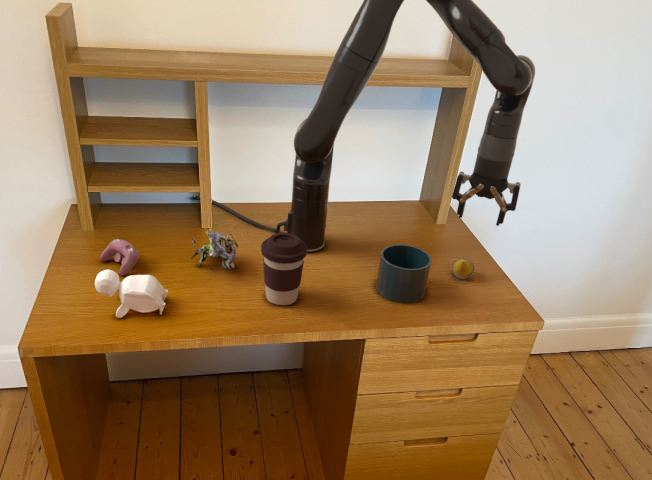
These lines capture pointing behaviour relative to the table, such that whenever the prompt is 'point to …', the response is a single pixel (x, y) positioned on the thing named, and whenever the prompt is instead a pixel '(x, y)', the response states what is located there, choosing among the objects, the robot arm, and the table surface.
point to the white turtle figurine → (132, 291)
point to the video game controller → (121, 255)
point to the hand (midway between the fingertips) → (478, 220)
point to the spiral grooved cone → (463, 268)
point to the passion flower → (218, 249)
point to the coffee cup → (283, 267)
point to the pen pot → (403, 273)
